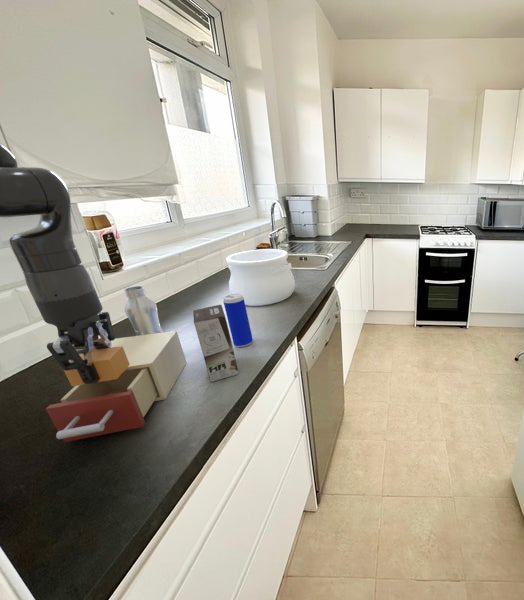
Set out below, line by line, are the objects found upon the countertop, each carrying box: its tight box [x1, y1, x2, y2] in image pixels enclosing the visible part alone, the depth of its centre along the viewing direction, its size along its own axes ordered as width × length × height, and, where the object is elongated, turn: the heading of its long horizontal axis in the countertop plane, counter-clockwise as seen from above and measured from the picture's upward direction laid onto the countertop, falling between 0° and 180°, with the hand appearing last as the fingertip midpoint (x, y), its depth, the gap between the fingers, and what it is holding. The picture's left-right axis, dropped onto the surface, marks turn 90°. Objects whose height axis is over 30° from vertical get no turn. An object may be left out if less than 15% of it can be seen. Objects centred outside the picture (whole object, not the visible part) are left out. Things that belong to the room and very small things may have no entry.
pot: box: [225, 248, 296, 307], centre depth 125 cm, size 26×24×18 cm
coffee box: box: [192, 304, 239, 383], centre depth 77 cm, size 9×6×16 cm
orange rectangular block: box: [62, 346, 130, 387], centre depth 60 cm, size 7×5×4 cm
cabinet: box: [110, 330, 187, 402], centre depth 73 cm, size 16×14×10 cm
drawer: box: [45, 367, 159, 443], centre depth 62 cm, size 19×12×8 cm, turn 17°
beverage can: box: [222, 293, 254, 348], centre depth 90 cm, size 5×5×15 cm
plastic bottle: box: [124, 285, 164, 336], centre depth 83 cm, size 6×7×20 cm
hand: (101, 373), depth 60 cm, fingers closed on orange rectangular block, 5 cm apart
